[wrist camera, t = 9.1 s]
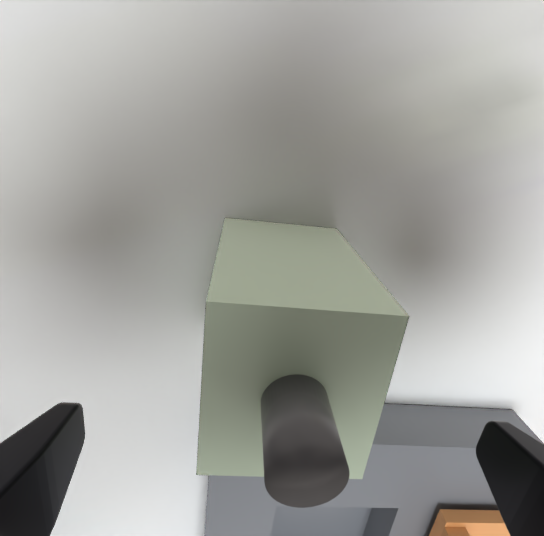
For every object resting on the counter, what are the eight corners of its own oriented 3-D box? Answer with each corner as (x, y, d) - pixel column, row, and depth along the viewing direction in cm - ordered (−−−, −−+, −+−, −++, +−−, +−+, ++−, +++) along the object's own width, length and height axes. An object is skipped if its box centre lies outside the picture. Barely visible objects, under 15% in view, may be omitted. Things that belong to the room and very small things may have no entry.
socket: (202, 578, 22) (197, 632, 20) (216, 395, 17) (211, 438, 15) (435, 578, 24) (456, 627, 21) (512, 409, 19) (550, 450, 16)
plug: (217, 329, 16) (183, 562, 7) (224, 217, 14) (192, 360, 6) (316, 336, 16) (388, 562, 8) (336, 228, 14) (458, 375, 6)
